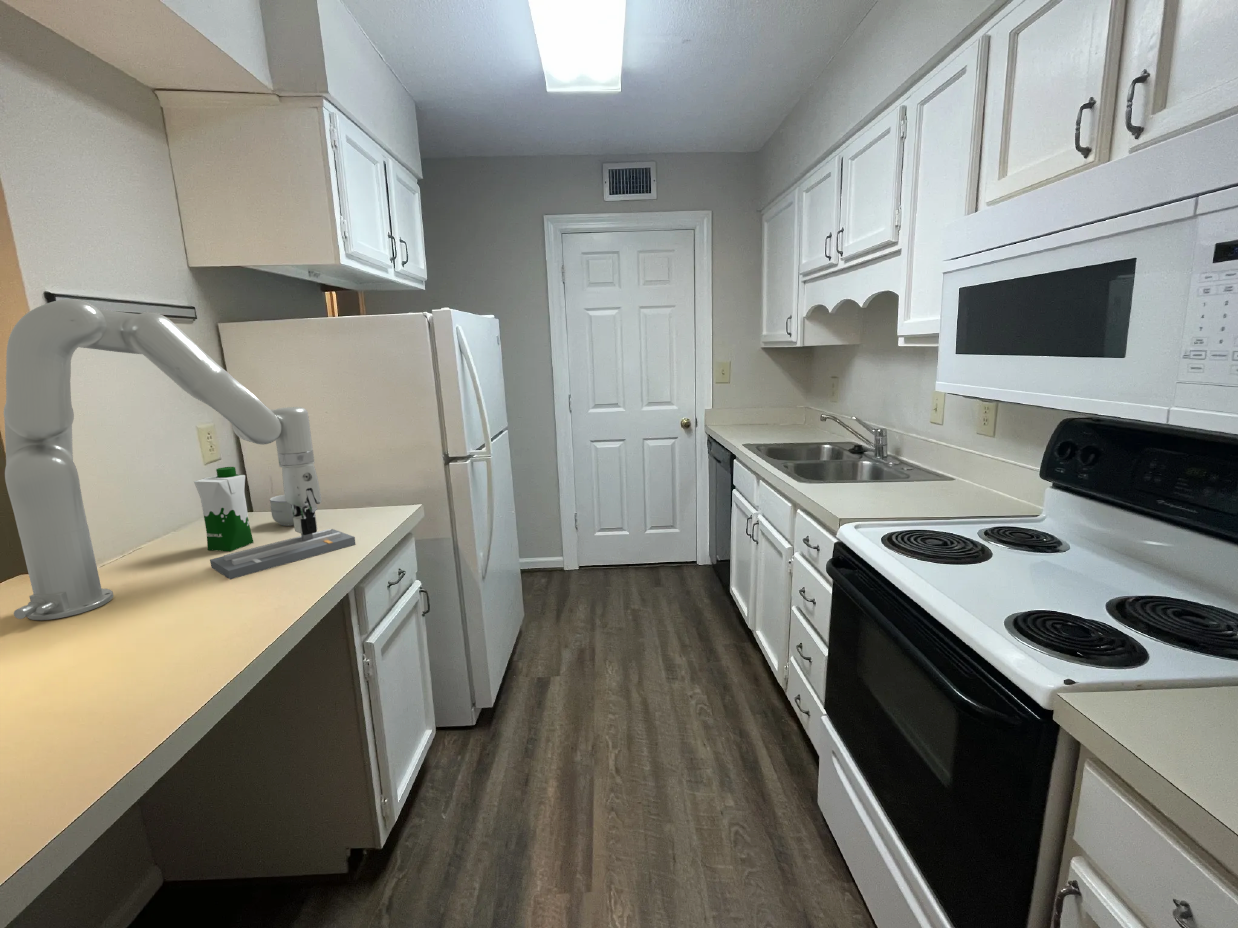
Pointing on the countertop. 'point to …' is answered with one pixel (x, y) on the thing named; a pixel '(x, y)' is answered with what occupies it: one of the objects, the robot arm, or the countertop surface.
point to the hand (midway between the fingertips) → (306, 531)
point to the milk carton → (225, 510)
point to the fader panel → (280, 553)
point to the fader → (299, 529)
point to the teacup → (282, 510)
